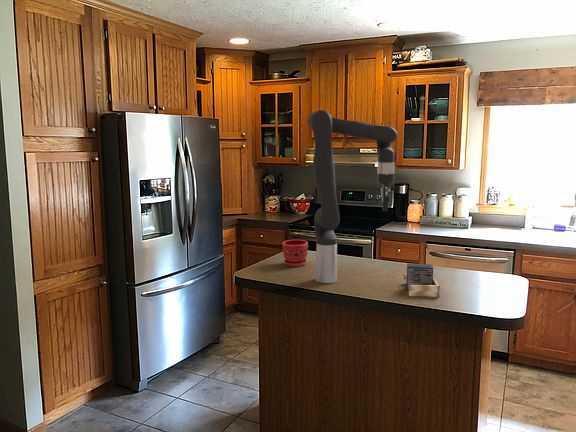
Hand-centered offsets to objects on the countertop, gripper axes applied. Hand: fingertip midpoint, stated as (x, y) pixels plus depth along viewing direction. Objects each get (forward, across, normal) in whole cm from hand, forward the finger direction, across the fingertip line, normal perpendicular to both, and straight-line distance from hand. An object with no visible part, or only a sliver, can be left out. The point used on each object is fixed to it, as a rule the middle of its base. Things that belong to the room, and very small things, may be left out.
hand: (384, 210), depth 211 cm
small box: (+31, +17, +14) cm, 38 cm away
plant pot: (+31, -20, -43) cm, 57 cm away
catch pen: (+31, +18, +14) cm, 38 cm away
